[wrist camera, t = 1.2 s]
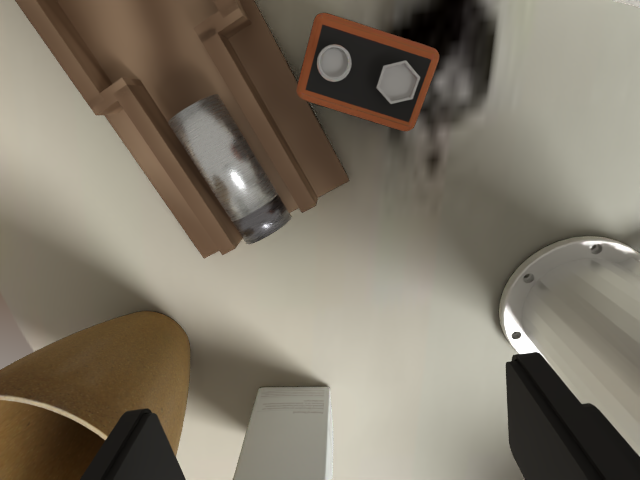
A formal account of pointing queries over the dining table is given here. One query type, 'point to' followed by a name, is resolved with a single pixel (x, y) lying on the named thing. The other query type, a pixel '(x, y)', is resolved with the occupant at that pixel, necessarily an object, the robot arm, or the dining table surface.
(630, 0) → the book
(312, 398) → the supplement box
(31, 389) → the plant pot
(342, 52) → the battery
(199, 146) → the shaft
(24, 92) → the dining table surface
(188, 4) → the tray
